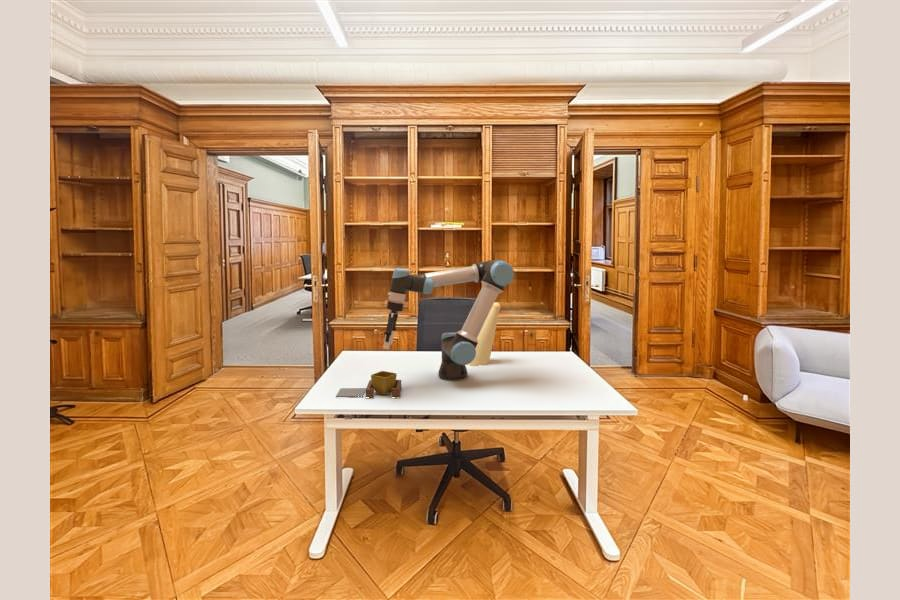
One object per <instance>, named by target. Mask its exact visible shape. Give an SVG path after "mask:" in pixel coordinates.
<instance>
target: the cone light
mask: <svg viewBox="0 0 900 600" xmlns="http://www.w3.org/2000/svg"><path fill="white" fill-rule="evenodd" d="M500 310H501V304H500V303H499V302H496V301H495V302H494V304H493V306H492V308H491V310H490V312H489V314H488V316H487V318H486V320H485V322H484V325H483V327H482V329H481V331H480V333H479V335H478V337H477V340H478V344H477V346H476V348H475V350H476V355H475V358H474V360H473V361H472V362H470V363H469V364H466V365H470V366H469V367H480V366H479V365H483V366H486V365H488V364H489V363H490V359H491V355H492V348H493V345H494V340H495V335H496V328H497V323H498V321H499V320H498V318H499V314H500ZM485 364H486V365H485Z"/></svg>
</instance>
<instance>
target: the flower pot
mask: <svg viewBox="0 0 900 600" xmlns="http://www.w3.org/2000/svg"><path fill="white" fill-rule="evenodd" d="M370 380H372V386H373V388H374V393H375V394H378V393H380V394H379V395H383V394H386V395H388V394H391V393H392V390H391V389H392V388H394V386H395V383H396V380H397V373H396V372H393V371H385V370H381V371H378V372H375V373H372V374H370ZM390 392H391V393H390ZM387 393H388V394H387Z"/></svg>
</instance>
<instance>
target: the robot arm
mask: <svg viewBox="0 0 900 600" xmlns="http://www.w3.org/2000/svg"><path fill="white" fill-rule="evenodd" d="M514 275H515V273H514V268H513V267H512V265H511V264H510V263H508V262H507V261H505V260H498V259H497V260H496V259H489V260H486V261H481V262H477V263H473V264H472V265H471V266H465V267H459V268H458V267H457V268H451V269H445V270H438V271H432V272H425V273H420V274H415V273H413V274H411V273H410V270H408V269H404V268H400V267H399V268H398V267H397V268H394V270H393V273H392V277H391V282H390V289H389V292H388V293H387V296H388V298H387V299H388V301H387V303H386V304H387V305H386V309H387V310H390V312H389V313H388V319H387V324H386V328H385V332H383V334H384V340H383V345H382V349H385V350H389V349H390V345H393V341H394V338H395V337H394V336H395V333H396V331H397V327H396V326H397V321H398V317H399V312H403V310H404V305H405V304H404V303H405V300H406V294H407V291H408V292H414V293H418V294H422V295H431V294H432V293H433V290H434V288H437V287H443V286H449V285H457V284H463V283H470V282H474V283H481V284H482V285H481V286H482V287H481V289H480V291H479V293H478V295H477V297H476V299H475V301H474V303H473V305H472V307H471V309H470V311H469V313H468V316H467V318H466V319H465V321H464V323H463V326H462V327H461V330H458V331H456V332H444V333H442V335H441V362H440V366H439V370H438V373H437V375H438V376H439V377H440V378H439V377H438V378H439V379H441V378H442V379H441V380H444V379H446V380H445V381H462V380H465V379H468V377H469V376H468V370H467V366H465V365H466V364H469V363H470V362H472V361H473V360H474V358H475V355H476V350H475V348H476V346H477V344H478V340H477V337H478V335H479V333H480V331H481V329H482V327H483V325H484V322H485V320H486V318H487V316H488V314H489V312H490V310H491V308H492V306H493V304H494V303H495V302H496V300H497V298H498V296H499V294H502V293H503V292H504V290H505V288H506V287H507V286H509V284H511V283H512V281H513V279H514ZM461 379H462V380H461Z"/></svg>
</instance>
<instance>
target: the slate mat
mask: <svg viewBox="0 0 900 600" xmlns="http://www.w3.org/2000/svg"><path fill="white" fill-rule="evenodd" d="M366 388H367V387H347V388H346V387H345V388H344V387H343V388H339V390H338V392H337V393H336V395H335V398H336V397H349V398H362V397H361V396H363V395H364V396H365V394H366V391H365V390H366ZM358 396H359V397H358ZM364 396H363V397H364Z"/></svg>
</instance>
